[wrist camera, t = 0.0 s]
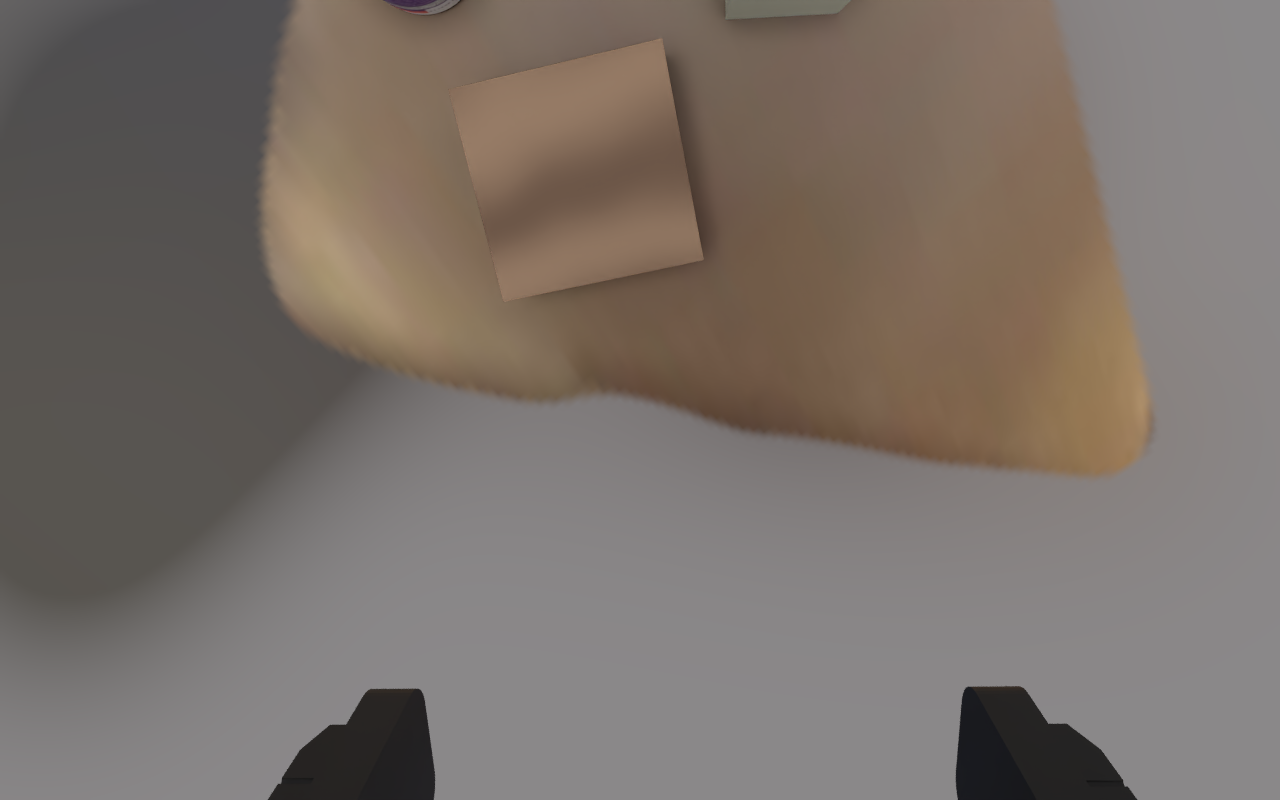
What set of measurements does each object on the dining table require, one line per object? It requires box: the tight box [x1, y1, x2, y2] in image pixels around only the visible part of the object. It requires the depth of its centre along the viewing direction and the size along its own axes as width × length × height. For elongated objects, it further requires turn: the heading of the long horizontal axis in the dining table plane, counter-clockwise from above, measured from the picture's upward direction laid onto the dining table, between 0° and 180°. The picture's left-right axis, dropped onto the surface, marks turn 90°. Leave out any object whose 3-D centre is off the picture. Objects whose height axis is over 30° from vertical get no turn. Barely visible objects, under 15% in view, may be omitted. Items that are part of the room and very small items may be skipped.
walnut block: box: [448, 38, 704, 302], centre depth 36 cm, size 9×9×5 cm
